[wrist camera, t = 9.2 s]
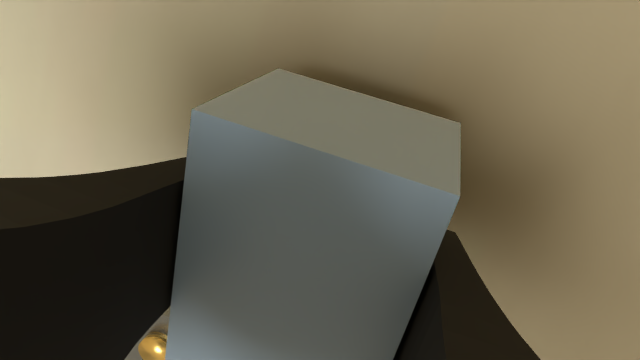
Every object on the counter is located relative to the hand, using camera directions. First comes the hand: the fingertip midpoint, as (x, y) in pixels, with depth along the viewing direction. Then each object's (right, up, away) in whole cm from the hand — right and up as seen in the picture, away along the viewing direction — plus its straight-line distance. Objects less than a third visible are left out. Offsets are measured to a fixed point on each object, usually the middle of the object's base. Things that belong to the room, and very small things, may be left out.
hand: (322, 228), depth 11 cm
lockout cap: (0, 0, +1) cm, 1 cm away
